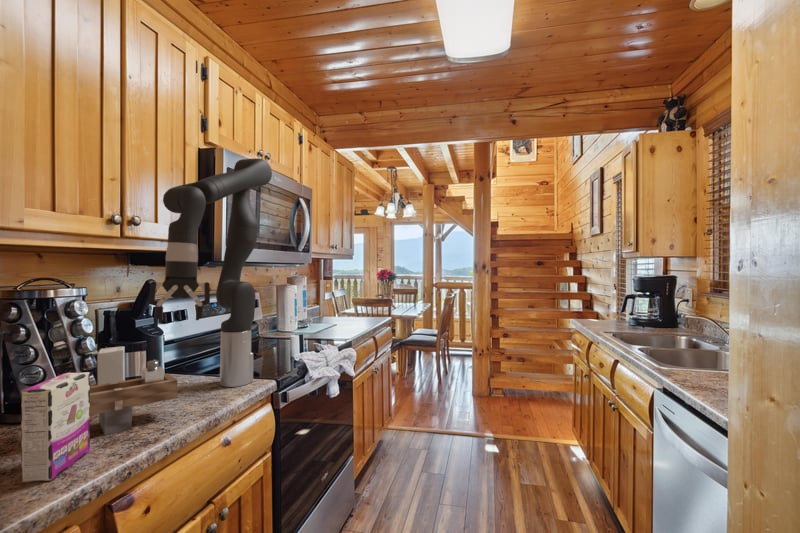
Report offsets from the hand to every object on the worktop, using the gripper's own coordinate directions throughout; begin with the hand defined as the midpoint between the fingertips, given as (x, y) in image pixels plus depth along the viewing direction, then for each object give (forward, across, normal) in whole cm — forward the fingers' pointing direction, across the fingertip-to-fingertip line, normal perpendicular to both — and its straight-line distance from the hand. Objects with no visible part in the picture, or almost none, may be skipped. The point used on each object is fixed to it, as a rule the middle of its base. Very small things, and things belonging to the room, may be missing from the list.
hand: (179, 320), depth 103 cm
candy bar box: (+25, +19, +24) cm, 39 cm away
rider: (+17, +5, +5) cm, 18 cm away
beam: (+24, +12, +6) cm, 28 cm away
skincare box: (+24, +16, -13) cm, 31 cm away
